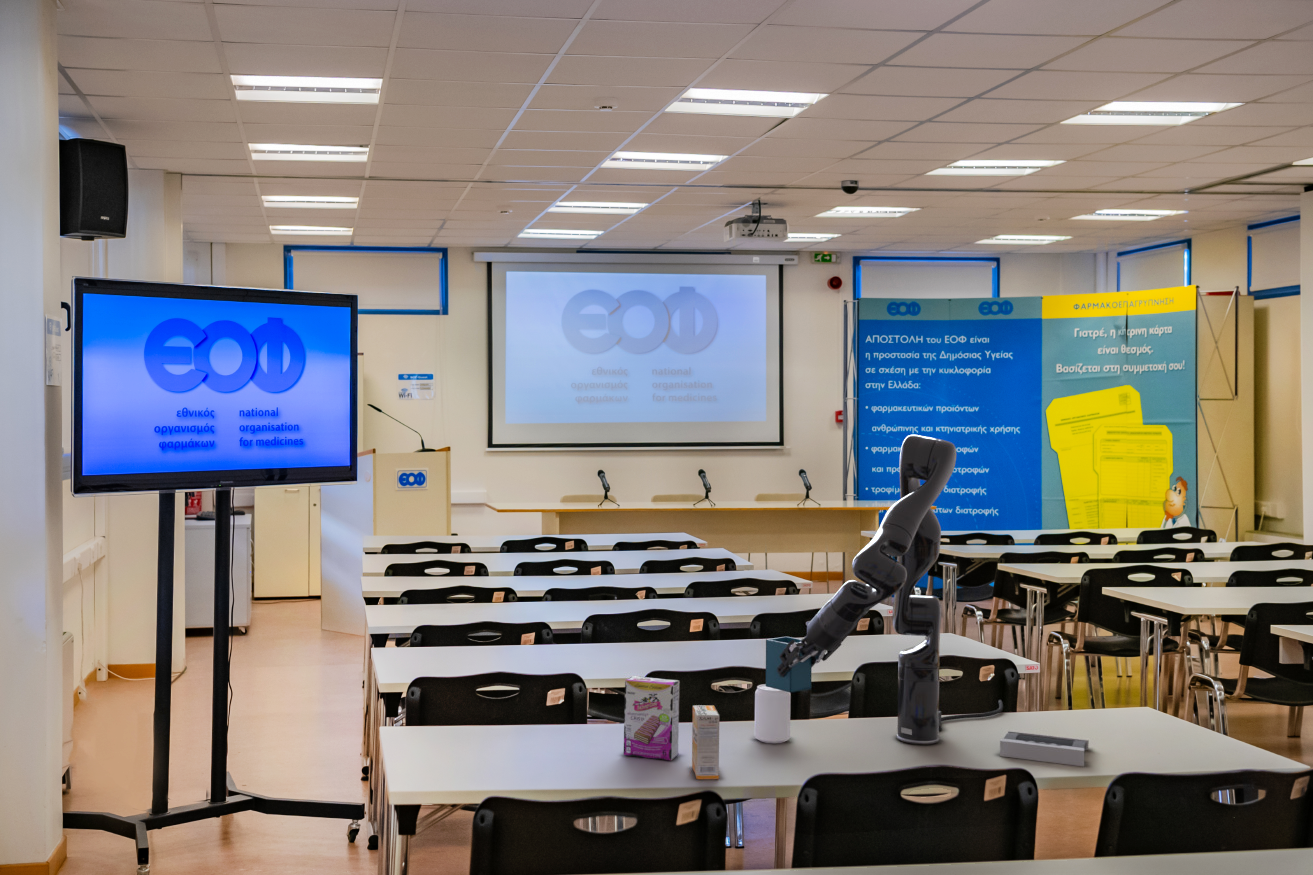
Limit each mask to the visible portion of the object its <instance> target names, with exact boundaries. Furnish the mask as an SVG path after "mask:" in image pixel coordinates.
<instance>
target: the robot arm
mask: <svg viewBox="0 0 1313 875" xmlns="http://www.w3.org/2000/svg"><path fill="white" fill-rule="evenodd" d="M956 461H957V449H956V446H955V444H954V443H953V442H951V441H948V440H944V439H940V438H935V437H930V436H924V435H920V434H919V435H918V434H910V435H907V436H906V437H905V438H904V440H903V441H902V445H901V448H900V454H899V497H900V499H899V500H897V501H896V502H895V503H893V504H892V505H891V506H890V507H889V508H888V510H887V511H886V512H885V514H884V516H883V519H882V521H881V523H880V525H879V527H878V529H877V531H876V533H875V535H874V536H873V537H872V538H871V540H870V541H869V542H868V543H867V544H866V545H865V546H864V547H863V548H862V549H861V550H860V551H859V552H858V553H857V554H856V555H855V556H854V558H853V560H852V563H851V571H852V574H853V576H854V577H856V578H857V579H858V580H854V579H851V580H850V579H849V580H847V581H846V582H845V583H843V584H842V586H840V588H839V589H838V590H837V591H836V593H835V594H834V595H833V596H832V597H831V598H830V599H829V600H827V602H825V604H823V606H822V607H821V608H820V609H819V611H818V612H816V614H815V615H814V617H813V618H812V619H811V620H810V621H809V622H808V623H807V626H806V635H805V636H804V637H802V638H801V641H800V642H799V643H796V642H795V641H794V640H792V641H790V642H789V644H788V645H787V646H786V648H785V649H784V650H783V652H782V653H781V655H780V656H779V657H780V659H781V661H782V663H781V664H780V665H779V666H778V668H777V672H778V674H779V675H780V677H784V676H785V675H786V674H787V673H788V672H789V671H790V669H791V668H792V667H793V666H794V665H796V664H797V663H798V662H801V663H802V662H804V661H805V660H806V659H808V658H809V657H810V656H812V668H814V666H815V665H817V664H818V663H821V661H822V662H825V661H827V660H828V659H829V658H830V657H831V656H832V655H833V654H834V653H835V652H836V651H837V650H838V649H839V648H840V647H841V646H842V643H843V642H844V641H845V639H846V638H848V636H849V635H850V634H851V633H852V632H853V631H854V629H856V627H857V625H858V623H859V622H860V621H861V620H862V619H863V617H864V616H865V615H866V614H867V613H868V612H869V611H870V610H871V609H872V608H873V607H875V606H877V605H878V604H880V603H882V602H884V601H886V600H887V599H889V598H891V597H892V596H893V603H892V614H891V619H892V627H893V630H894V631H895V632H896V633H897V634H898V635H902V636H919V637H924V639H923V641H921V642H920V643H918V644H916V645H914V646H912V647H908V648H905V649H902V650H901V651H900V652H899V653H898V656H897V657H898V661H897V662H898V666H897V667H898V670H897V671H898V672H897V678H898V679H897V733H896V739H897V740H898V741H901V742H903V743H907V744H911V745H912V744H913V745H934V744H936V743H939V742H940V736H939V734H940V733H939V732H941V731H942V730H943V728H942V722H946V721H951V720H960V719H974V718H977V719H978V718H987V717H991V716H995V715H998V714H1000V713H1002V712H1003V710H1004V703H1003V701H1002V699H998V708H997V709H996V710H992V711H987V712H980V713H965V714H956V715H955V714H954V715H947V716H942V711H941V710H940V639H941V625H942V605H941V601H940V599H939V597H938V596H935V595H921V594H920V595H919V594H912V592H913V590H914V589H915V586H916V585H917V583H918V582H919V581H920V580H921V579H922V578H923V576H925V575H926V574H927V573H928V571H929V570H930V569H931V568H932V567H933V566H934V564H935V563H936V562H937V560H938V558H939V556H940V550H941V541H942V540H941V537H942V528H941V524H940V522H939V519H938V518H937V516H936V514H935V512H934V511H933V509H932V506H933V504H934V503H935V502H936V500H937V499H938V498H939V496H940V495H941V493H942V491H943V490H944V489H945V487H946V486H947V484H948V482H949V481H950V478H952V475H953V472H954V469H955V466H956ZM921 481H924V482H923V483H922V484H921ZM893 557H896V559H895V558H893ZM859 580H860V581H859ZM799 651H800V652H801V653H802V655H803V657H801V656H800V654H799ZM795 657H796V659H795V660H794V661H793V659H794V658H795Z"/></svg>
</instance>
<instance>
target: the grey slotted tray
mask: <svg viewBox="0 0 1313 875" xmlns="http://www.w3.org/2000/svg"><path fill="white" fill-rule="evenodd" d="M1089 741H1090V740H1088V739H1083V738H1082V739H1081V738H1072V737H1066V736H1065V737H1064V736H1054V735H1047V734H1040V733H1039V734H1038V733H1030V732H1022V731H1012V730H1008V731H1007V733H1005V736H1004V737H1003V738H1000V740H999V756H1000V757H1006V758H1014V759H1020V760H1027V761H1028V760H1030V761H1037V762H1044V763H1054V764H1061V765H1069V766H1077V767H1085V754H1086V751H1089V749H1090V748H1089V745H1090V744H1089V743H1090V742H1089Z"/></svg>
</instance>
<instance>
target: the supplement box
mask: <svg viewBox="0 0 1313 875" xmlns="http://www.w3.org/2000/svg"><path fill="white" fill-rule="evenodd" d="M691 727H692V729H691V731H692V733H691V738H692V739H691V768H692V770H693V772H694V775H695V778H696V780H719V778H720V713H719V712H718V710H717V708H716V707H715V705H713V704H712V705H702V704H701V705H700V704H698V705H697V704H696V705H695V704H694V705H692V726H691Z"/></svg>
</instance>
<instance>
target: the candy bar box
mask: <svg viewBox="0 0 1313 875" xmlns="http://www.w3.org/2000/svg"><path fill="white" fill-rule="evenodd" d="M680 686H681V682H680V680H678V679H666V678H658V677H647V676H639V675H638V676H636V675H632V676H630V677H628V678H626V679H625V680H624V716H623V723H624V725H623V755H624V756H630V757H639V758H647V759H655V760H663V761H673V760H674V759H675V758H677V756H678V755H679V731H680V730H679V724H680Z"/></svg>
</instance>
